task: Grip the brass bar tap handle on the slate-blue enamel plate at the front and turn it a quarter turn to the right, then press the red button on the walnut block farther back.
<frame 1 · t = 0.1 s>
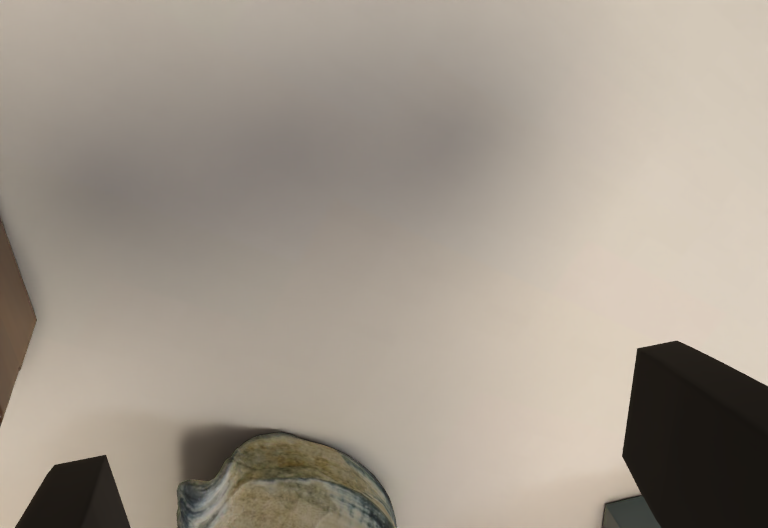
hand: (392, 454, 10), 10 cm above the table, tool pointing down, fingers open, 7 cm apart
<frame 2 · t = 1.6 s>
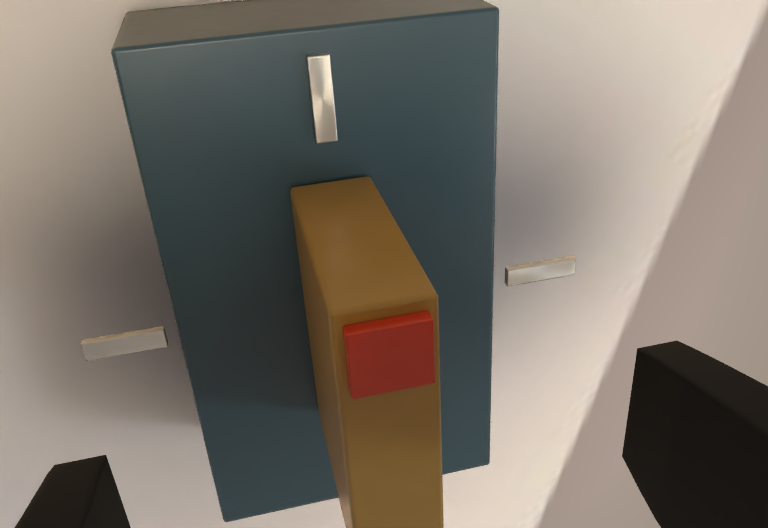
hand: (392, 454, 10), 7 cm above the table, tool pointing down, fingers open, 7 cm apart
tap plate: (317, 232, 16), on the table
tap handle: (366, 373, 12), point 5 cm above the table, hinge at 0.0°
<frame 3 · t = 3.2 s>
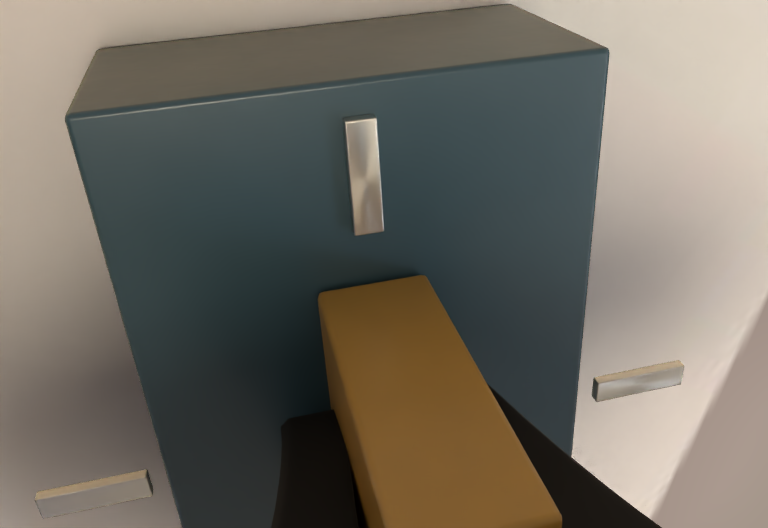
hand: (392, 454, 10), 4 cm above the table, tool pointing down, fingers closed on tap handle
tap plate: (344, 316, 13), on the table
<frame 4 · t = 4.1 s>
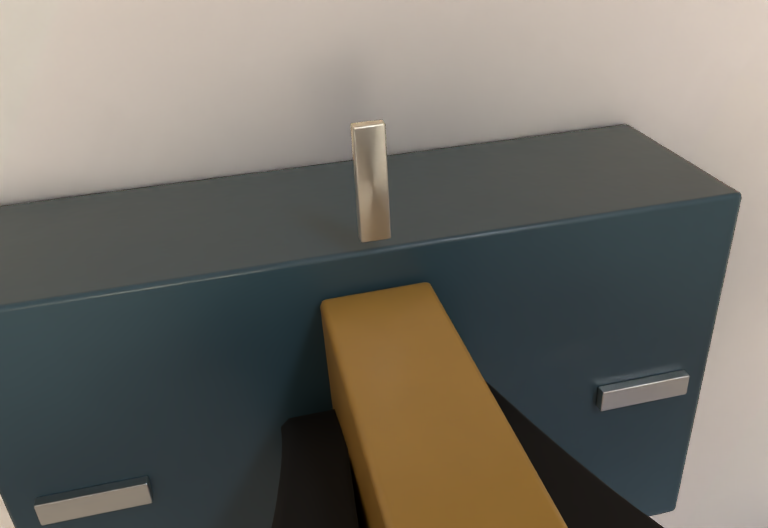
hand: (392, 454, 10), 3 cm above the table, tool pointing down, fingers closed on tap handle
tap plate: (346, 321, 13), on the table
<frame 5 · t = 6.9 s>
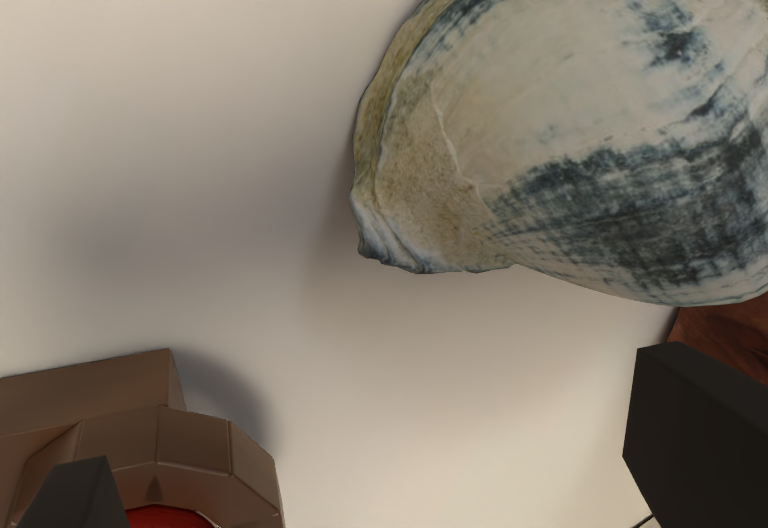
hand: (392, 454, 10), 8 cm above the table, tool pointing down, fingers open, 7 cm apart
button block: (49, 495, 19), on the table
seashell: (591, 90, 18), on the table
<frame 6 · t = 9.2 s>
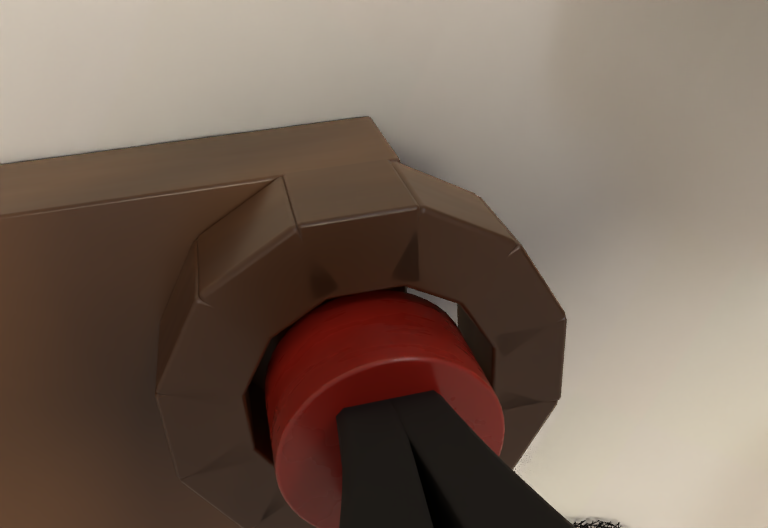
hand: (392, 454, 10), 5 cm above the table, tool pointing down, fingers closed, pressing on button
button block: (185, 338, 14), on the table
button: (380, 413, 11), point 4 cm above the table, slide at 0.0 cm, touching gripper
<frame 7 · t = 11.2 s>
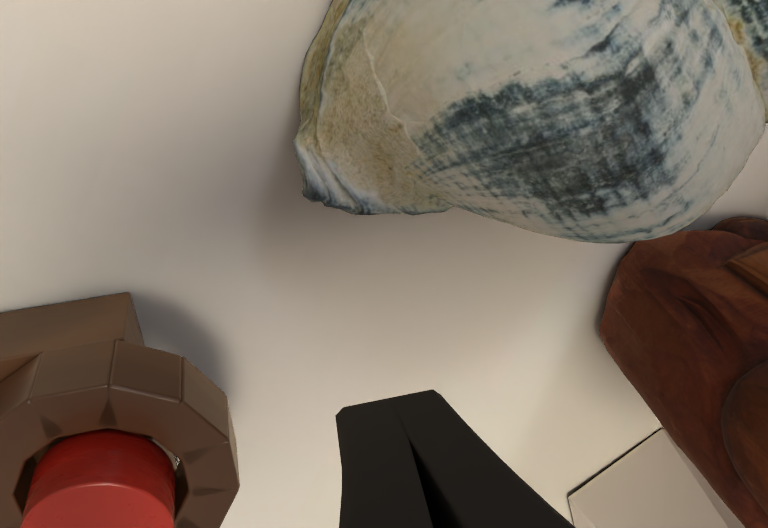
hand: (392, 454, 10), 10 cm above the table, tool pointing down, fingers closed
button block: (15, 435, 20), on the table
button: (102, 507, 17), point 4 cm above the table, slide at 0.1 cm
seashell: (527, 50, 19), on the table
wooden figurine: (738, 293, 25), on the table
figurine: (651, 495, 29), on the table
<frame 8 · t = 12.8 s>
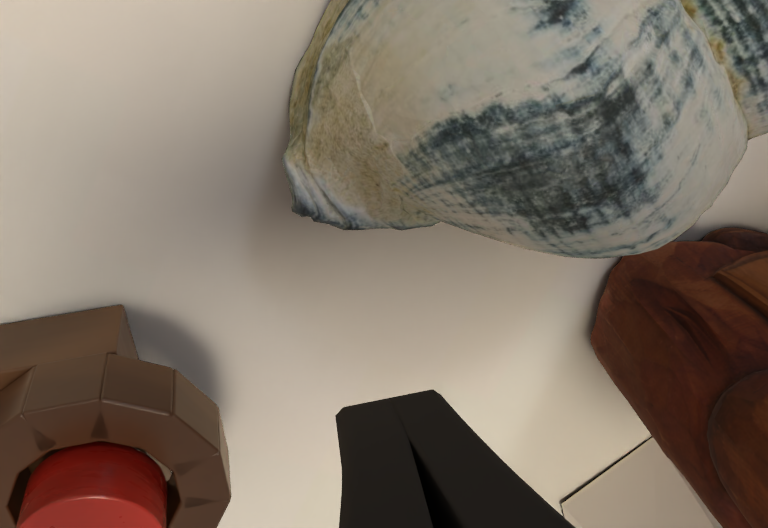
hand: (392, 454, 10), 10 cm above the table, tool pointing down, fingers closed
button block: (11, 445, 21), on the table
button: (94, 519, 17), point 4 cm above the table, slide at 0.1 cm
seashell: (516, 64, 19), on the table
wooden figurine: (729, 302, 25), on the table
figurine: (644, 502, 29), on the table
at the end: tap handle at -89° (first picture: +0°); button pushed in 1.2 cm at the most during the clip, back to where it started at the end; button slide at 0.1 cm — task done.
